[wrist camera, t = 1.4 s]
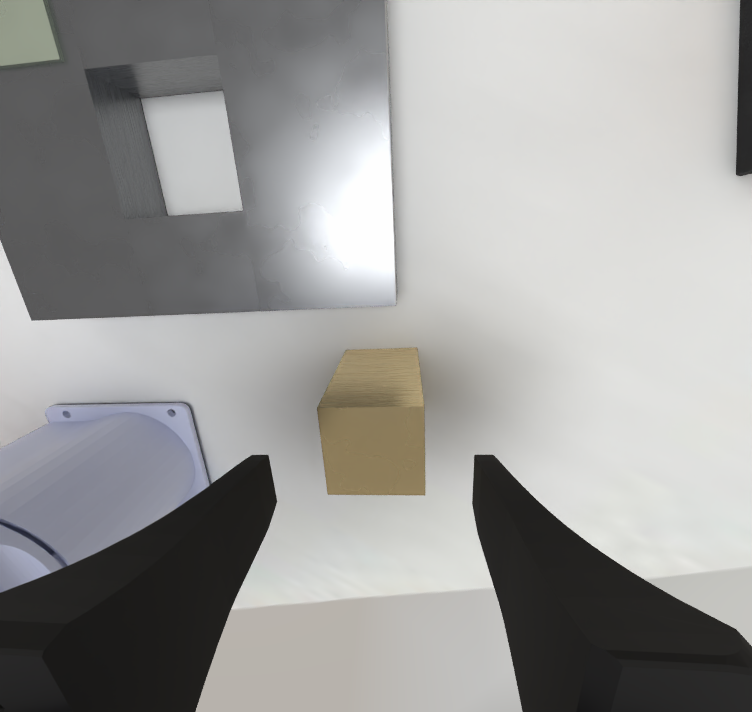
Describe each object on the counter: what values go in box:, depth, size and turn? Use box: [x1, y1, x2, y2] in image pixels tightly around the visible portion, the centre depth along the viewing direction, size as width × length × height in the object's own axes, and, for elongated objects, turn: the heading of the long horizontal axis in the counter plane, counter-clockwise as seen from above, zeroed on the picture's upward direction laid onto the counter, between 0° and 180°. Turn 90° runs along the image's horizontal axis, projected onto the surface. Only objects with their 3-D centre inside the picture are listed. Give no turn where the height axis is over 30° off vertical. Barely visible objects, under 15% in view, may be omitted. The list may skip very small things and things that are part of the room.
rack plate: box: [0, 0, 397, 321], centre depth 15 cm, size 18×14×3 cm
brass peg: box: [317, 348, 425, 495], centre depth 17 cm, size 4×4×7 cm
